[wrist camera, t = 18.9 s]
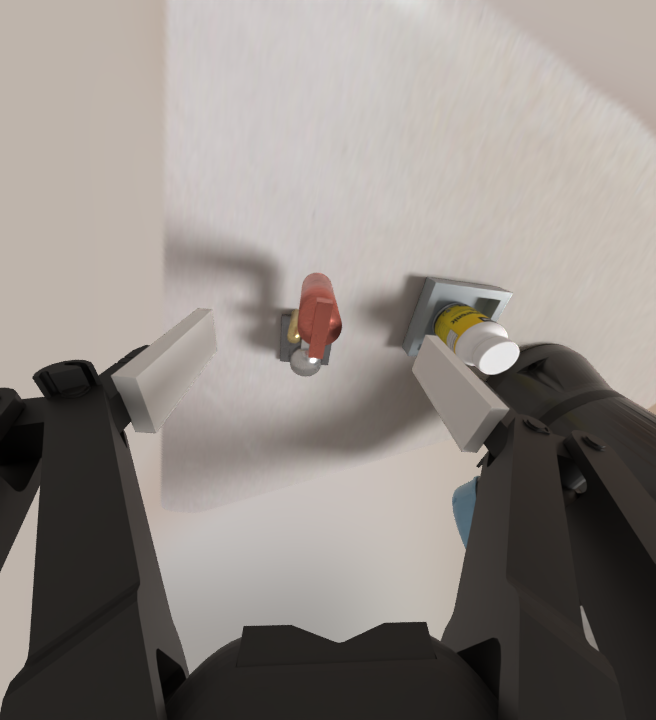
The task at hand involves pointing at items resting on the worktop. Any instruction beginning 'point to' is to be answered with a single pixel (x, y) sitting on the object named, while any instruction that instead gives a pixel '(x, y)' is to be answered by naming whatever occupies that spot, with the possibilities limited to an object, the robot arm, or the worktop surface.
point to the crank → (315, 324)
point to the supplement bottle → (475, 338)
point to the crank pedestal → (295, 338)
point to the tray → (446, 293)
